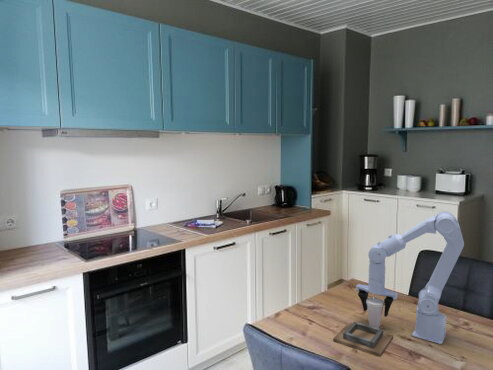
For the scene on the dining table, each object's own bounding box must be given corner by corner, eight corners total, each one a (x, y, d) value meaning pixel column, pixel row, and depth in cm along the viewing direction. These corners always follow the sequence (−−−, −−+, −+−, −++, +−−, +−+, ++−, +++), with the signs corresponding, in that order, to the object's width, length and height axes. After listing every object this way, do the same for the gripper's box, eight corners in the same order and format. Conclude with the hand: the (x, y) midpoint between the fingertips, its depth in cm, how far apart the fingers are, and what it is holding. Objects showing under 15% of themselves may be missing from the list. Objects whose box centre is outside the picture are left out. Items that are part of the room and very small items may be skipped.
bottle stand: (392, 338, 129) (393, 329, 129) (380, 356, 118) (380, 347, 118) (348, 325, 139) (348, 317, 139) (333, 341, 128) (333, 332, 127)
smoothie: (369, 320, 143) (370, 285, 141) (386, 325, 139) (387, 289, 137) (362, 326, 138) (363, 290, 136) (379, 332, 134) (381, 294, 132)
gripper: (400, 278, 136) (398, 314, 137) (361, 270, 144) (360, 304, 146) (394, 284, 130) (393, 321, 132) (354, 275, 139) (353, 310, 140)
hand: (375, 312), depth 138 cm, fingers open, 7 cm apart
